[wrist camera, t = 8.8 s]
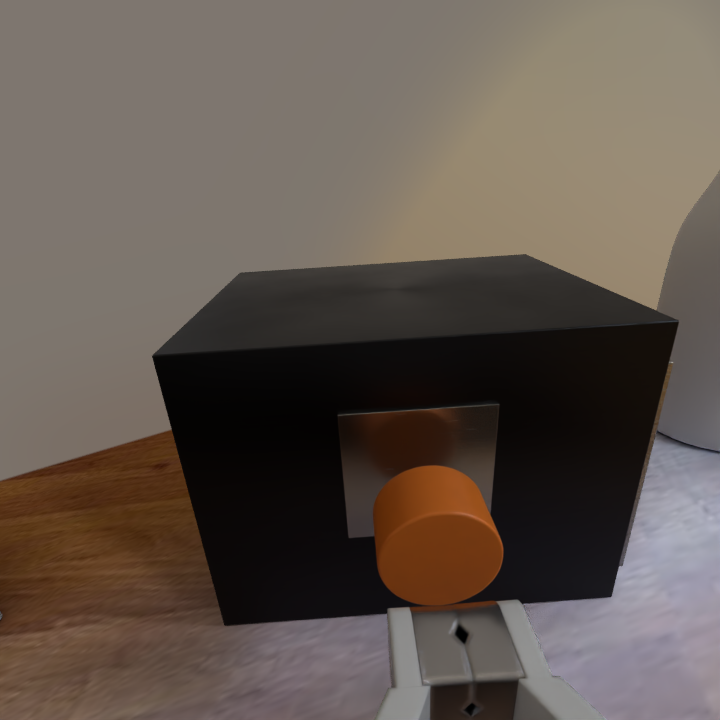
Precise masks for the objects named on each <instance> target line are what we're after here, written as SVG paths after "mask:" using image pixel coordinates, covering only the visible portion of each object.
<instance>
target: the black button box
mask: <svg viewBox="0 0 720 720" xmlns="http://www.w3.org/2000/svg"><path fill="white" fill-rule="evenodd" d="M678 325H679V320H677V319H674V318H672V317H670V316H667V315H665V314H663V313H660V312H658V311H656V310H654V309H651V308H649V307H647V306H644V305H642V304H640V303H637V302H635V301H632V300H630V299H628V298H626V297H623V296H621V295H619V294H616V293H614V292H611V291H609V290H607V289H605V288H602V287H600V286H598V285H595V284H593V283H591V282H588V281H586V280H584V279H582V278H579V277H577V276H574V275H572V274H570V273H567V272H565V271H563V270H561V269H558V268H556V267H553V266H551V265H549V264H547V263H544V262H542V261H540V260H537V259H535V258H533V257H530V256H528V255H526V254H523V255H508V256H494V257H493V256H492V257H477V258H461V259H446V260H431V261H415V262H401V263H384V264H370V265H353V266H337V267H322V268H308V269H307V268H306V269H291V270H275V271H261V272H245V273H240V274H238V275H237V276H236V277H235V278H234V279H233V280H232V281H231V282H230V283H229V284H228V285H227V286H225V288H224V289H222V290H221V291H220V292H219V293H218V294H217V295H216V296H215V297H214V298H213V299H212V300H211V301H210V302H209V303H207V304H206V305H205V306H204V307H203V308H202V309H201V310H200V311H199V312H198V313H197V314H196V315H195V316H194V317H193V318H192V319H190V320H189V321H188V322H187V323H186V324H185V325H184V326H183V327H182V328H181V329H180V330H179V331H178V332H177V333H176V334H175V335H173V336H172V338H170V339H169V340H168V341H167V342H166V343H165V344H164V345H163V346H162V347H161V348H160V349H159V350H158V351H157V352H155V353H154V354H153V356H152V358H153V361H154V365H155V369H156V372H157V376H158V380H159V383H160V387H161V391H162V395H163V398H164V402H165V406H166V410H167V413H168V417H169V420H170V424H171V428H172V432H173V436H174V440H175V443H176V447H177V451H178V454H179V458H180V462H181V466H182V469H183V473H184V477H185V480H186V484H187V488H188V492H189V495H190V499H191V503H192V507H193V510H194V514H195V518H196V521H197V525H198V529H199V533H200V536H201V540H202V544H203V548H204V551H205V555H206V559H207V562H208V566H209V570H210V574H211V577H212V581H213V585H214V589H215V592H216V596H217V600H218V603H219V607H220V611H221V615H222V618H223V622H224V625H235V624H248V623H262V622H275V621H289V620H303V619H316V618H330V617H344V616H357V615H371V614H384V613H387V609H388V608H401V607H409V608H410V607H423V606H430V605H421V604H415V603H412V602H409V601H406V600H404V599H402V598H400V597H398V596H396V595H395V594H394V593H392V592H391V591H390V590H389V589H388V588H387V587H386V585H385V584H384V583H383V581H382V579H381V577H380V575H379V572H378V567H377V558H376V547H375V535H374V524H373V507H374V503H375V500H376V498H377V496H378V494H379V492H380V491H381V489H382V488H383V487H384V486H385V485H386V483H387V482H389V481H390V480H391V479H392V478H394V477H395V476H397V475H398V474H400V473H402V472H404V471H406V470H409V469H412V468H416V467H420V466H428V465H437V466H445V467H449V468H452V469H455V470H458V471H460V472H462V473H463V474H465V475H466V476H468V477H469V478H470V479H471V480H472V481H473V482H474V483H475V484H476V485H477V487H478V488H479V490H480V492H481V494H482V497H483V499H484V501H485V504H486V506H487V508H488V511H489V513H490V515H491V517H492V520H493V522H494V524H495V527H496V529H497V531H498V534H499V536H500V538H501V541H502V544H503V561H502V565H501V568H500V570H499V572H498V574H497V575H496V577H495V578H494V580H493V581H492V582H491V583H490V584H489V585H488V586H487V587H486V588H484V589H483V590H482V591H480V592H479V593H477V594H476V595H474V596H472V597H470V598H468V599H465V600H463V601H460V602H456V603H452V604H461V603H473V602H484V601H506V600H519V601H520V602H521V603H534V602H548V601H562V600H575V599H589V598H602V597H611V596H612V592H613V588H614V584H615V580H616V576H617V572H618V568H619V566H623V562H624V558H625V554H626V550H627V546H628V542H629V538H630V534H631V530H632V526H633V522H634V518H635V515H636V511H637V507H638V503H639V499H640V495H641V491H642V487H643V483H644V479H645V475H646V471H647V467H648V463H649V459H650V455H651V451H652V447H653V443H654V439H655V435H656V431H657V427H658V423H659V419H660V415H661V411H662V407H663V403H664V399H665V395H666V391H667V387H668V383H669V379H670V375H671V371H672V367H673V362H672V361H670V357H671V353H672V349H673V345H674V341H675V337H676V333H677V329H678ZM452 604H448V605H452ZM437 606H444V605H437Z"/></svg>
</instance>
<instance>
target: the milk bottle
mask: <svg viewBox="0 0 720 720" xmlns="http://www.w3.org/2000/svg"><path fill="white" fill-rule="evenodd" d="M657 311H658V312H660V313H663V314H665V315H667V316H670V317H672V318H674V319H677V320H679V325H678V329H677V333H676V337H675V341H674V345H673V349H672V353H671V357H670V361H672V362H673V367H672V371H671V375H670V379H669V383H668V387H667V391H666V395H665V399H664V403H663V407H662V411H661V415H660V419H659V423H658V427H657V431H659V432H661V433H662V434H665V435H667V436H669V437H671V438H673V439H676V440H679V441H681V442H684V443H687V444H690V445H694V446H697V447H700V448H705V449H710V450H715V451H720V171H719V172H718V174H717V175H716V177H715V178H714V180H713V181H712V183H711V184H710V185H709V187H708V188H707V189H706V191H705V192H704V193H703V195H702V196H701V198H700V199H699V200H698V201H697V203H696V204H695V205H694V207H693V208H692V210H691V211H690V213H689V214H688V216H687V217H686V219H685V221H684V222H683V224H682V226H681V228H680V230H679V232H678V234H677V237H676V240H675V243H674V245H673V248H672V251H671V255H670V259H669V262H668V266H667V269H666V273H665V277H664V281H663V285H662V290H661V294H660V298H659V302H658V307H657Z"/></svg>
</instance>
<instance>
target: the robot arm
mask: <svg viewBox="0 0 720 720" xmlns="http://www.w3.org/2000/svg"><path fill="white" fill-rule="evenodd" d="M387 620H388V644H389V662H390V674H391V684H392V688H388V690H387V692H386V695H385V697H384V699H383V701H382V704H381V706H380V708H379V710H378V712H377V715H376V717H375V719H374V720H606V719H605V718H604V717H603V716H602V715H601V714H600V713H599V712H598V711H597V710H596V709H595V708H594V707H593V706H591V705H590V704H589V703H588V702H587V701H586V700H585V699H584V698H583V697H582V696H581V695H580V694H579V693H577V692H576V691H575V690H574V689H573V688H572V687H571V686H570V685H569V684H568V683H567V682H566V681H565V680H564V679H562V678H561V677H560V676H553V675H552V673H551V671H550V668H549V666H548V664H547V661H546V659H545V657H544V654H543V652H542V650H541V647H540V645H539V642H538V640H537V638H536V635H535V633H534V631H533V628H532V626H531V624H530V621H529V619H528V616H527V614H526V612H525V609H524V607H523V605H522V603H521V602H520V601H519V600H506V601H484V602H473V603H461V604H452V605H444V606H423V607H410V608H409V607H401V608H388V609H387Z"/></svg>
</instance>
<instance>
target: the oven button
mask: <svg viewBox="0 0 720 720" xmlns="http://www.w3.org/2000/svg"><path fill="white" fill-rule="evenodd" d="M373 524H374V535H375V547H376V558H377V567H378V572H379V575H380V577H381V579H382V581H383V583H384V584H385V585H386V587H387V588H388V589H389V590H390V591H391V592H392V593H394V594H395V595H396V596H398V597H400V598H402V599H404V600H406V601H409V602H412V603H415V604H421V605H430V606H437V605H448V604H452V603H456V602H460V601H463V600H465V599H468V598H470V597H472V596H474V595H476V594H477V593H479V592H480V591H482V590H483V589H484V588H486V587H487V586H488V585H489V584H490V583H491V582H492V581H493V580H494V578H495V577H496V575H497V574H498V572H499V570H500V568H501V565H502V561H503V544H502V541H501V538H500V536H499V534H498V531H497V529H496V527H495V524H494V522H493V520H492V517H491V515H490V513H489V511H488V508H487V506H486V504H485V501H484V499H483V497H482V494H481V492H480V490H479V488H478V487H477V485H476V484H475V483H474V482H473V481H472V480H471V479H470V478H469V477H468V476H466V475H465V474H463V473H462V472H460V471H458V470H455V469H452V468H449V467H445V466H437V465H428V466H420V467H416V468H412V469H409V470H406V471H404V472H402V473H400V474H398V475H397V476H395V477H394V478H392V479H391V480H390V481H389V482H387V483H386V485H385V486H384V487H383V488H382V489H381V491H380V492H379V494H378V496H377V498H376V500H375V503H374V507H373Z"/></svg>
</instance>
